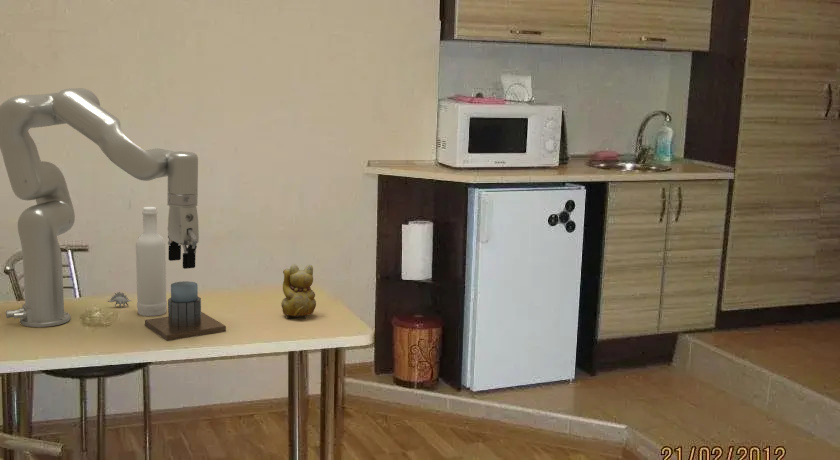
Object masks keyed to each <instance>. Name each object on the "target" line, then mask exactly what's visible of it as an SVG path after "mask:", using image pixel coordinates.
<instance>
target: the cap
mask: <svg viewBox="0 0 840 460" xmlns="http://www.w3.org/2000/svg"><path fill="white" fill-rule="evenodd" d="M198 289H199V288H198V283H197V282H194V281H176V282H173V283H171V284H170V298H171V301H173V302H180V303H185V302H193V301H196V300H197V299H198V297H199V294H198V293H199V292H198Z"/></svg>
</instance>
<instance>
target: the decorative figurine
mask: <svg viewBox="0 0 840 460" xmlns="http://www.w3.org/2000/svg"><path fill="white" fill-rule="evenodd" d="M282 273H283V282H282V292H283V294H284V298H282V300H281V308H282V309H281V310H282V313H283V315H286V316H287V320H305V319H306V317H307V316H309V315H312V314H314V311H315V309H316V306H317V301H316V299H315V297H316V293H315V291H314V290H313V289H312V287H311V286H312V285H313V282H314V275H313V274H314V267H313V265H312V264H308V265H306V266H305V267H304V270H303V269H300V267H299V265H297V264H295V263H292V264H291V265H290V268H285V269H283V270H282Z"/></svg>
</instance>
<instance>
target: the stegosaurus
mask: <svg viewBox="0 0 840 460" xmlns="http://www.w3.org/2000/svg"><path fill="white" fill-rule="evenodd" d="M106 302H107V303H115V304H114V307H115V308H117V305H119V306H120V309H123V307H124V309H125V308H126V306H129V304H128V303H129V302H132V300H131V299H130V298H128V296H127V295H126V294H125V293H124V292H120V291H118V292H117V293H116V292H114V294H113V295H112V296H111V298H110V299H107V300H106ZM122 305H123V307H122Z"/></svg>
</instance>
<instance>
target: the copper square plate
mask: <svg viewBox="0 0 840 460" xmlns="http://www.w3.org/2000/svg"><path fill="white" fill-rule="evenodd" d="M167 310H168V311H167V313H168V316H164V317H157V318H149V319H144V326H145V327H147V328H148V329H149V330H150V331H152V332H154V333H155V334H156V335H158V336H159V337H160V338H161V339H164V341H167V342H170V341H175V340H180V339H181V340H182V339H187V338H192V337H193V338H194V337H201V336H206V335H212V334H218V333H223V332H224V333H225V332H227V328H226V327H227V326H226V325H225V324H223V322H222V323H221V322H220V321H219V320H216V319H215V318H213V317H211V316H209V315H208V314H206V313H205V312H203V311H202V298H201V297H200V296H198V299H197V300H196V301H193V302H185V303H180V302H173V301H171V297H169V298H168V300H167Z"/></svg>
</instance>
